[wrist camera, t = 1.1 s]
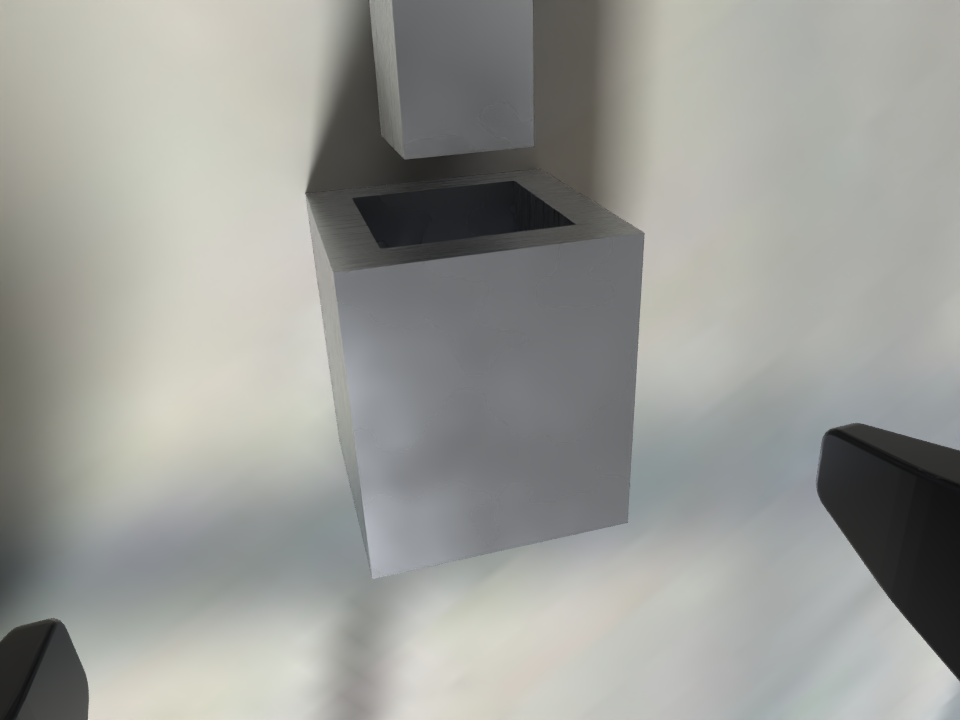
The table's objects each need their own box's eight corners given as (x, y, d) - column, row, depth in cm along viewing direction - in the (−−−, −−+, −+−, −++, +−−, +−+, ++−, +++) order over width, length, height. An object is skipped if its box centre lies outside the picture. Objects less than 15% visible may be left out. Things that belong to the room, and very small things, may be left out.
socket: (539, 402, 24) (627, 522, 18) (338, 438, 22) (372, 578, 17) (538, 167, 20) (644, 232, 15) (305, 192, 19) (333, 272, 14)
